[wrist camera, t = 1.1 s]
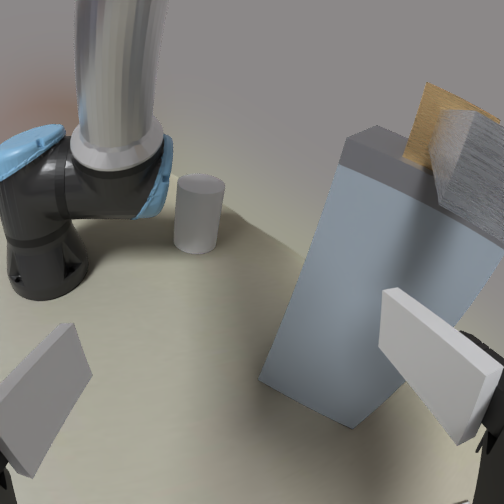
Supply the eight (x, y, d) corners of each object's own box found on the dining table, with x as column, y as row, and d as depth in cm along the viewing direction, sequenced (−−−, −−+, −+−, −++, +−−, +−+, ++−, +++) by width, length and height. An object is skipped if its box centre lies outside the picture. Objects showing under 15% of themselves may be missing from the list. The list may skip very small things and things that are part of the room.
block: (520, 306, 7) (599, 148, 3) (375, 225, 9) (438, 40, 5) (457, 167, 25) (476, 116, 21) (407, 142, 27) (423, 90, 23)
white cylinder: (216, 231, 61) (225, 176, 55) (215, 256, 55) (224, 196, 48) (176, 226, 60) (181, 171, 53) (170, 251, 54) (173, 190, 47)
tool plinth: (352, 429, 32) (518, 227, 15) (257, 379, 36) (346, 137, 19) (381, 347, 44) (481, 177, 27) (306, 309, 48) (376, 125, 31)
